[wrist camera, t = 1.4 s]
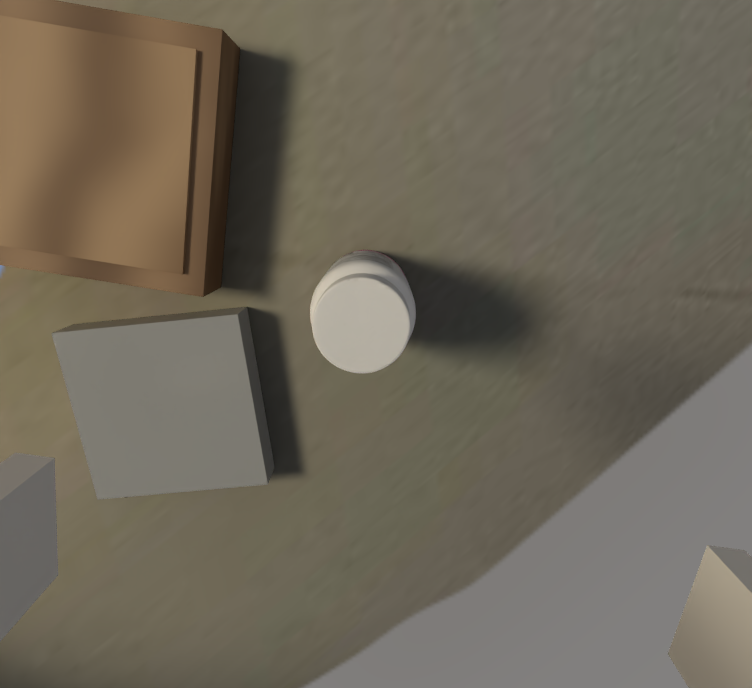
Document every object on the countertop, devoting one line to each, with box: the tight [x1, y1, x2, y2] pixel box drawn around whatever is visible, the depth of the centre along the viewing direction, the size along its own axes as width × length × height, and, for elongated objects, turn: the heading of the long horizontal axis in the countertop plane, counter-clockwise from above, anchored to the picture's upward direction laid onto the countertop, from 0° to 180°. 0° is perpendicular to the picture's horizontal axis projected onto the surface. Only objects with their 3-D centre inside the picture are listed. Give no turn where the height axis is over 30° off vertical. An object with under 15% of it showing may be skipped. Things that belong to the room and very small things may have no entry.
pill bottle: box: [310, 250, 416, 373], centre depth 25 cm, size 5×5×8 cm
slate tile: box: [52, 307, 275, 499], centre depth 30 cm, size 10×10×2 cm
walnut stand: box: [0, 0, 240, 297], centre depth 26 cm, size 12×12×3 cm
